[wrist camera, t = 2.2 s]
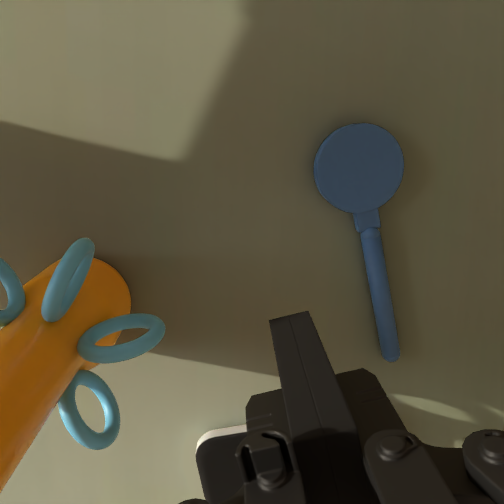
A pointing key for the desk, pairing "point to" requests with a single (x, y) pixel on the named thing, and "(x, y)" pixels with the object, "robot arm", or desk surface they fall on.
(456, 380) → the desk surface
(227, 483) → the remote control
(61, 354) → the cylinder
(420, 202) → the desk surface
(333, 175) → the blue disc with handle
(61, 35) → the desk surface
